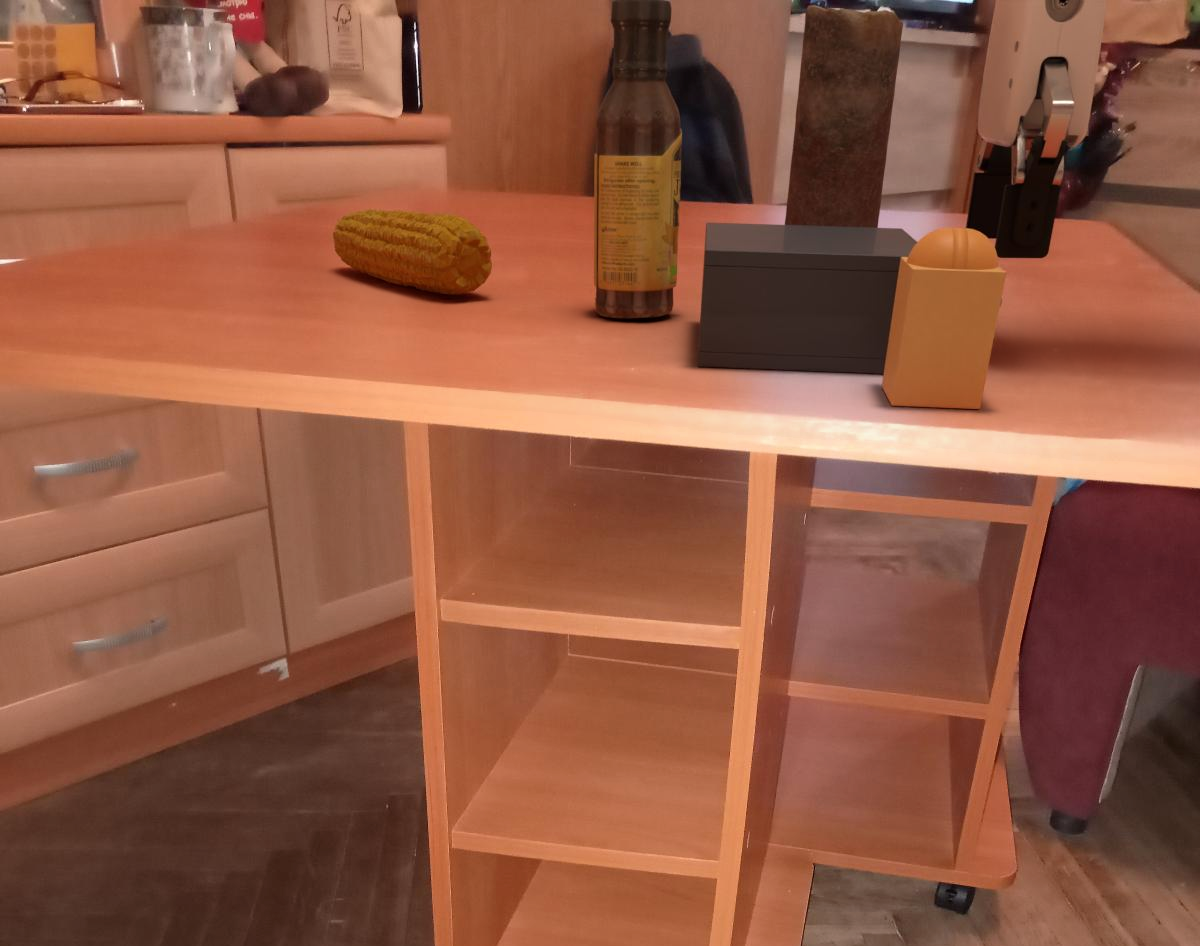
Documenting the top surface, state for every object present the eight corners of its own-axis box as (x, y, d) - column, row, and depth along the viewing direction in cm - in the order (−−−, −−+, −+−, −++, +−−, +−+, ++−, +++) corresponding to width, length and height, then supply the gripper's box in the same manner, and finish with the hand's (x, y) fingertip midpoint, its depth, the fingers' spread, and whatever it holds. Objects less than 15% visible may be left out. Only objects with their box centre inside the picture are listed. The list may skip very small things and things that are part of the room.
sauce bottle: (687, 320, 86) (705, -3, 76) (609, 324, 84) (617, -6, 74) (654, 305, 91) (667, 1, 81) (580, 309, 89) (583, -2, 79)
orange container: (965, 390, 69) (996, 224, 64) (980, 409, 65) (1014, 234, 61) (881, 387, 70) (905, 221, 65) (891, 405, 66) (918, 231, 61)
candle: (793, 292, 98) (822, 8, 87) (878, 300, 95) (919, 8, 84) (764, 306, 92) (791, 3, 81) (853, 315, 90) (893, 3, 79)
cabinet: (887, 331, 84) (902, 228, 81) (916, 375, 72) (935, 257, 69) (699, 324, 85) (706, 222, 82) (697, 366, 73) (705, 249, 70)
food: (504, 298, 93) (502, 216, 89) (446, 306, 90) (441, 221, 86) (366, 265, 106) (360, 192, 103) (311, 270, 103) (303, 195, 99)
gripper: (1175, -97, 59) (1098, 266, 68) (1084, -64, 74) (1030, 232, 83) (1026, -95, 60) (970, 265, 69) (964, -63, 74) (925, 231, 83)
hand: (1003, 247), depth 76 cm, fingers open, 9 cm apart
